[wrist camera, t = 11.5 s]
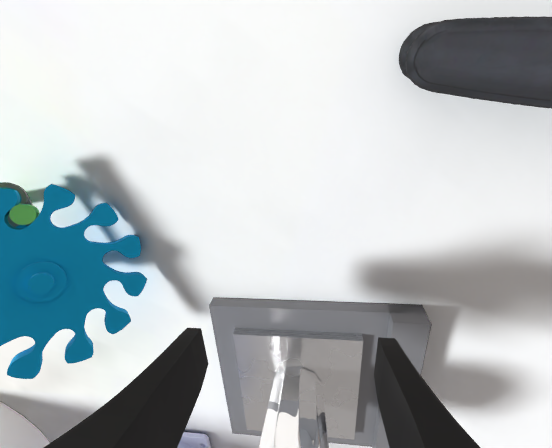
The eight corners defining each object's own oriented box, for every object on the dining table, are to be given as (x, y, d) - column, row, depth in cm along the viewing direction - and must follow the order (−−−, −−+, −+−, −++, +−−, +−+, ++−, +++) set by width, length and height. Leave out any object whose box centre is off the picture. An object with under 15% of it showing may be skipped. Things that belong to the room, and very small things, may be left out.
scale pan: (353, 431, 22) (354, 439, 21) (248, 421, 23) (247, 429, 22) (361, 333, 18) (363, 341, 17) (235, 327, 19) (232, 334, 19)
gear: (173, 318, 18) (-42, 433, 13) (153, 294, 23) (-10, 371, 18) (101, 140, 16) (-202, 197, 11) (95, 156, 21) (-113, 200, 15)
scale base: (396, 438, 23) (403, 464, 21) (234, 423, 25) (229, 446, 23) (421, 304, 18) (432, 326, 16) (213, 297, 19) (203, 316, 18)
